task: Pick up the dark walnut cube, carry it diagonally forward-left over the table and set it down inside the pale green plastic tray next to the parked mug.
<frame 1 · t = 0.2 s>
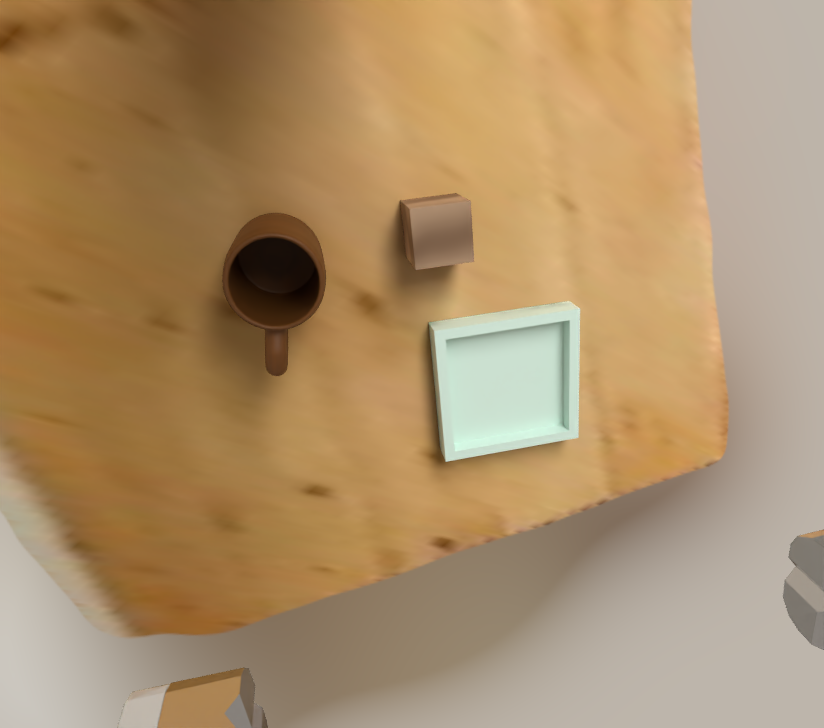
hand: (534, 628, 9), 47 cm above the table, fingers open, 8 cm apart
mug: (278, 279, 54), on the table
tray: (502, 377, 61), on the table
block: (430, 225, 54), on the table
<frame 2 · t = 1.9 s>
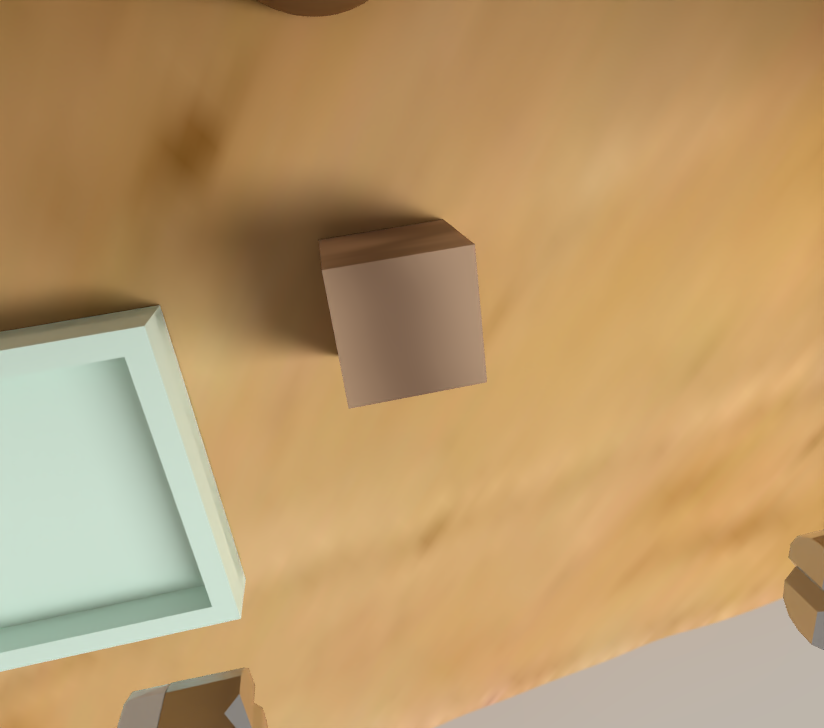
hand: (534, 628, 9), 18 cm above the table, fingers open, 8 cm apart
tray: (40, 488, 26), on the table
block: (390, 289, 25), on the table
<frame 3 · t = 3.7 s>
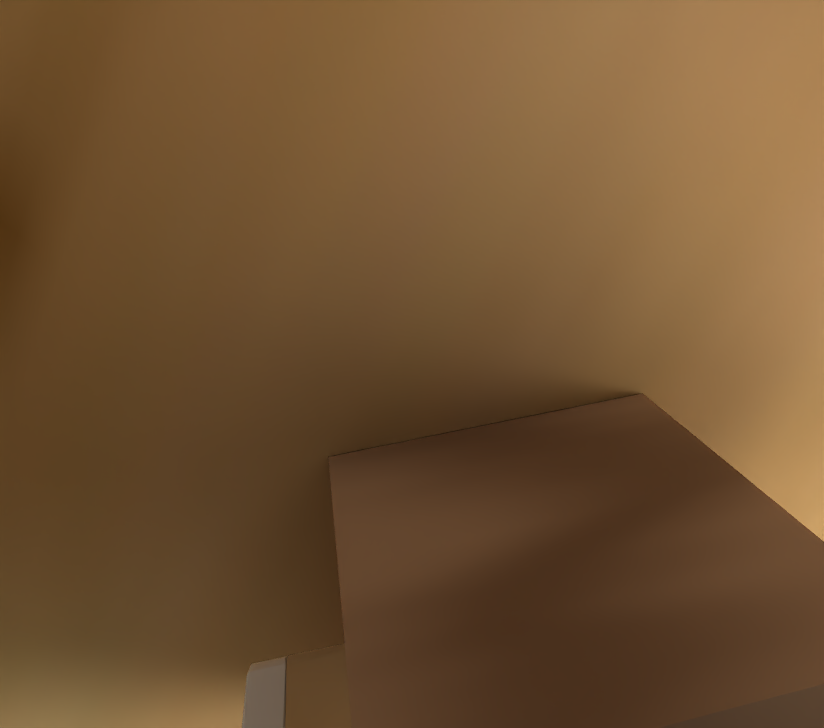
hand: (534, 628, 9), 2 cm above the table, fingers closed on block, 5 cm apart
block: (501, 551, 10), on the table, touching gripper
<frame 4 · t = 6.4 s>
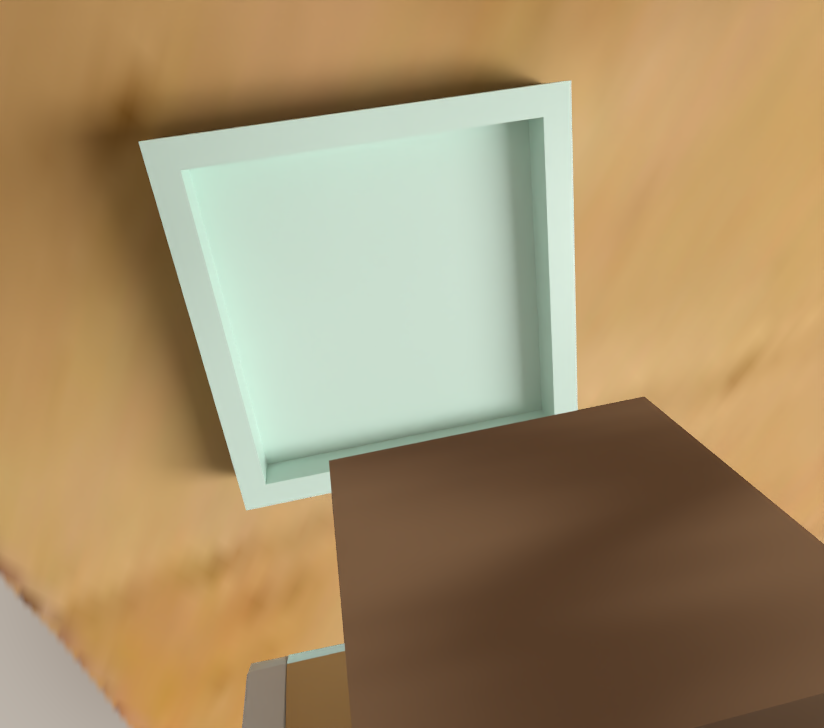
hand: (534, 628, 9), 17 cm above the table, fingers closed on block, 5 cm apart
tray: (384, 296, 24), on the table
block: (502, 555, 10), point 16 cm above the table, touching gripper
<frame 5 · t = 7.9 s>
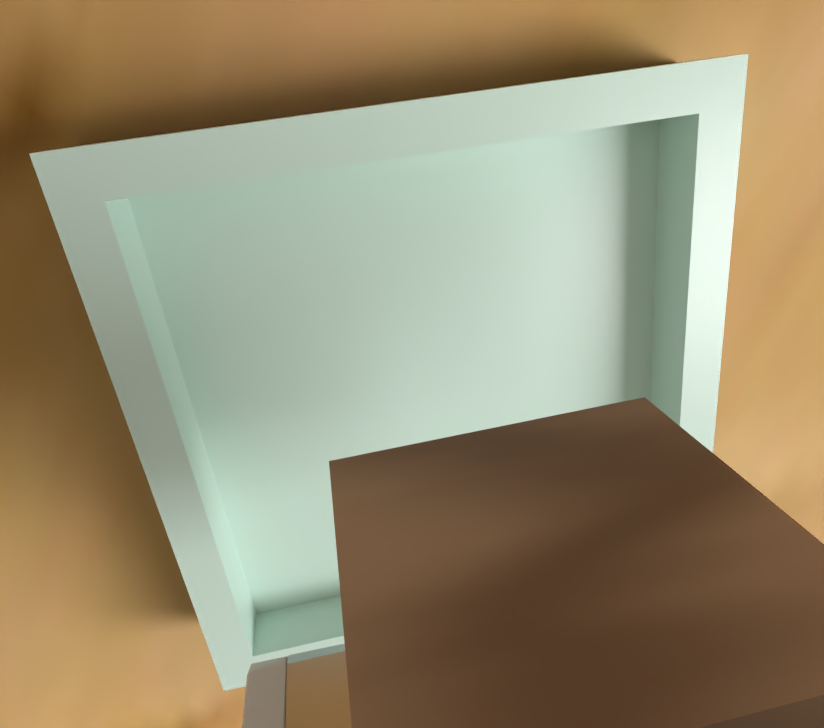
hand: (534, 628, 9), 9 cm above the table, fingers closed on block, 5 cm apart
tray: (427, 376, 17), on the table
block: (502, 556, 10), point 7 cm above the table, touching gripper
when the fingers open (4 cm above the table, at t = 9.3 s): block stays where it is, resting on tray.
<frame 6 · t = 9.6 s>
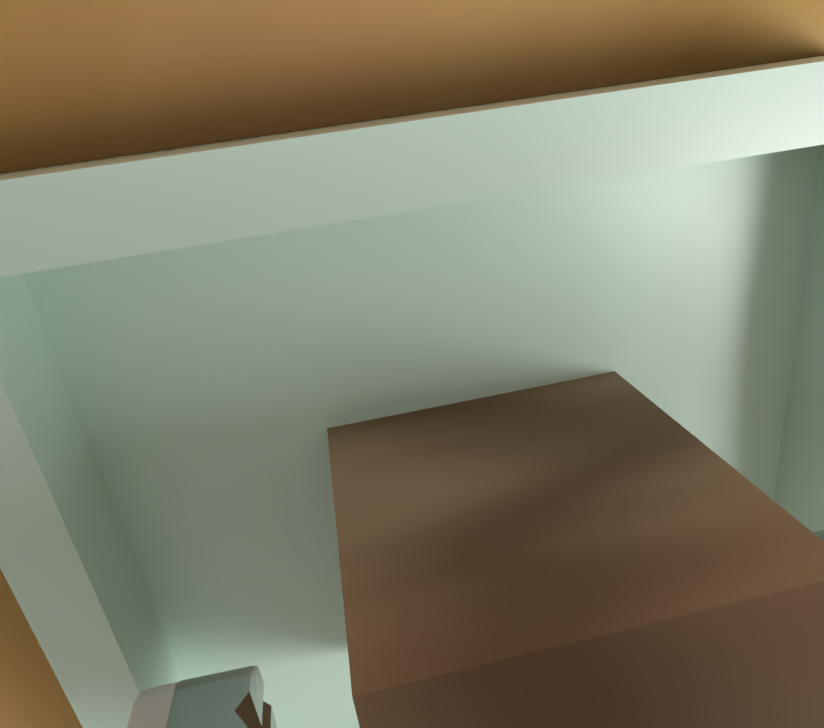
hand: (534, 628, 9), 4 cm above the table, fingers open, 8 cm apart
tray: (468, 489, 12), on the table
block: (486, 519, 11), point 1 cm above the table, touching tray
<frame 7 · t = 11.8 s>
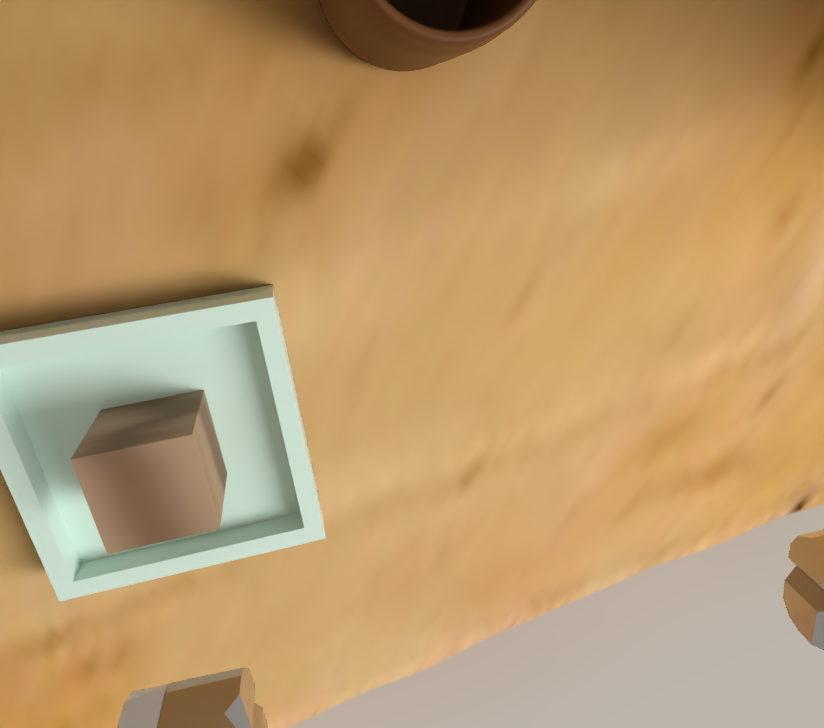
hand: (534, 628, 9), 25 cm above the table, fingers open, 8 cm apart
tray: (168, 434, 32), on the table
block: (166, 442, 31), point 1 cm above the table, touching tray
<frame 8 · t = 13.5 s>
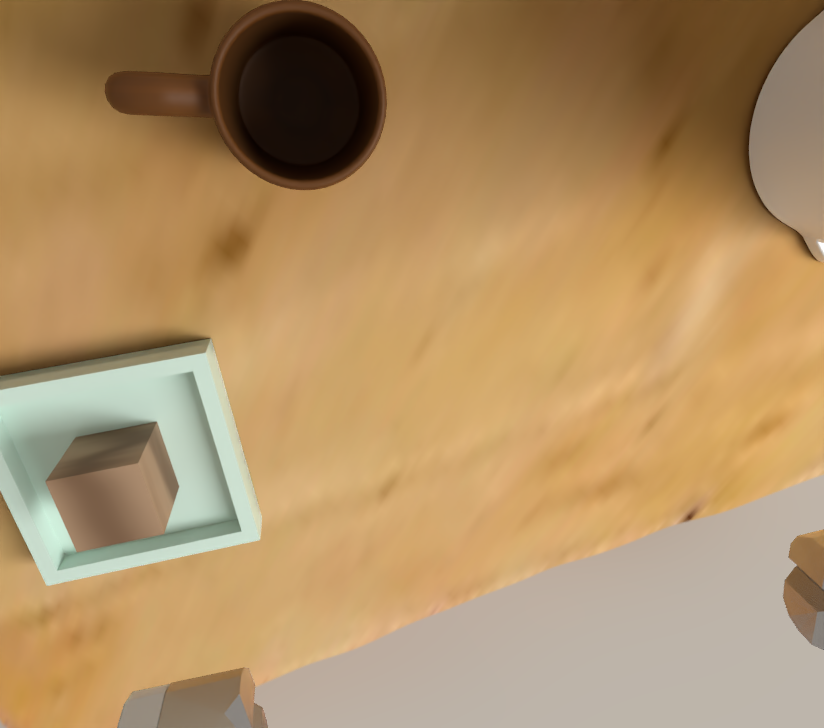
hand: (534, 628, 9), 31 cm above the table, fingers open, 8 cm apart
mug: (259, 101, 34), on the table
tray: (131, 455, 40), on the table
block: (129, 462, 39), point 1 cm above the table, touching tray
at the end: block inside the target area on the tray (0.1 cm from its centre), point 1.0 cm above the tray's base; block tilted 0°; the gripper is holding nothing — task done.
